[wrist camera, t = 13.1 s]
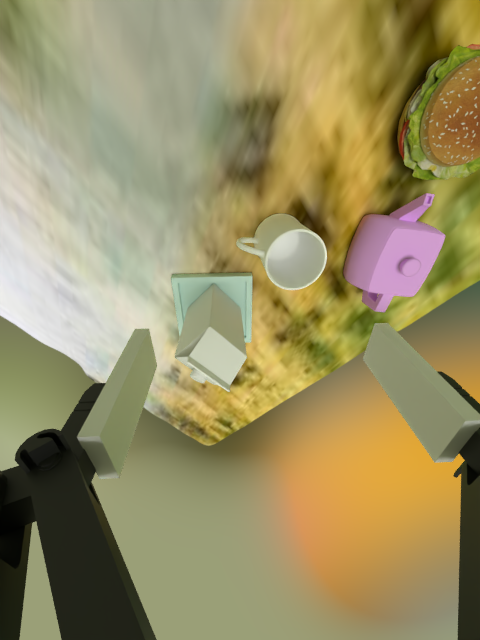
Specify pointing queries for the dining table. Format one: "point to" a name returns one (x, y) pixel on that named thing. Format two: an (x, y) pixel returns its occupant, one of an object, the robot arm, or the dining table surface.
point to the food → (444, 119)
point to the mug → (287, 251)
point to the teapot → (392, 253)
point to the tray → (231, 284)
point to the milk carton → (213, 339)
